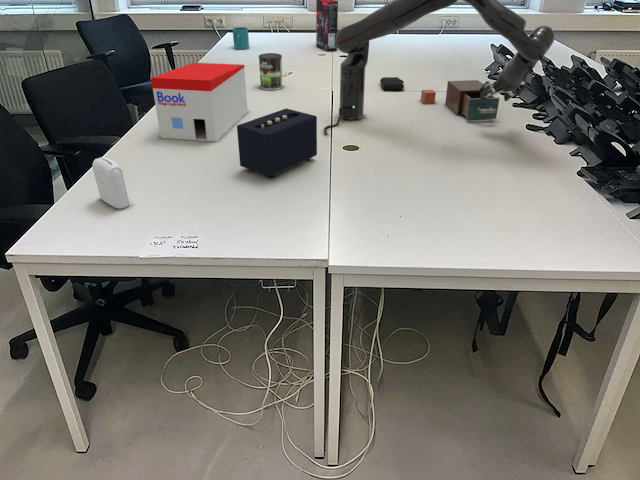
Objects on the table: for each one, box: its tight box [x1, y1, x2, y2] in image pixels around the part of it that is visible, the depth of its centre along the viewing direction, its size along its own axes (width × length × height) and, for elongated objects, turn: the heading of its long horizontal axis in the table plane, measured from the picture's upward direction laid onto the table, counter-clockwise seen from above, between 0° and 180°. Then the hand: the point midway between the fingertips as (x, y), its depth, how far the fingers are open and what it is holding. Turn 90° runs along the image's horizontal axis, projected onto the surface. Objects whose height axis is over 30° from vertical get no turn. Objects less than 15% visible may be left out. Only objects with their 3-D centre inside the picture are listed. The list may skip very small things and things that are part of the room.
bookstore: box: [150, 62, 248, 143], centre depth 193 cm, size 21×35×21 cm, turn 169°
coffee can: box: [258, 52, 284, 91], centre depth 239 cm, size 10×10×14 cm
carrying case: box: [379, 76, 405, 91], centre depth 242 cm, size 11×3×15 cm
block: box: [420, 89, 437, 105], centre depth 221 cm, size 5×5×5 cm
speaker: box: [236, 108, 318, 178], centre depth 161 cm, size 22×13×15 cm, turn 141°
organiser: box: [444, 79, 490, 116], centre depth 211 cm, size 15×13×10 cm
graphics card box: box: [315, 0, 339, 52], centre depth 310 cm, size 17×7×27 cm, turn 25°
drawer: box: [460, 92, 500, 121], centre depth 201 cm, size 18×11×8 cm, turn 7°
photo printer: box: [92, 157, 130, 210], centre depth 140 cm, size 10×4×12 cm, turn 47°
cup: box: [232, 26, 250, 51], centre depth 315 cm, size 9×12×11 cm
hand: (493, 99), depth 188 cm, fingers open, 8 cm apart
